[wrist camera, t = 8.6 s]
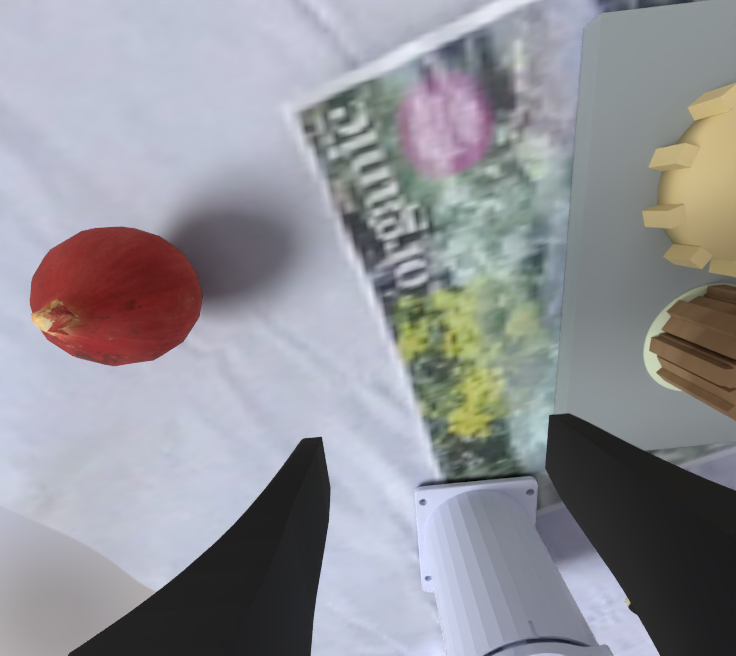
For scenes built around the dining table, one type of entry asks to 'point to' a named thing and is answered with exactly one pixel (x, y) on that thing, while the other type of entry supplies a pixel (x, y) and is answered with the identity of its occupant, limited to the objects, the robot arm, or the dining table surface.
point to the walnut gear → (702, 348)
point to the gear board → (648, 214)
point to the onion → (115, 296)
